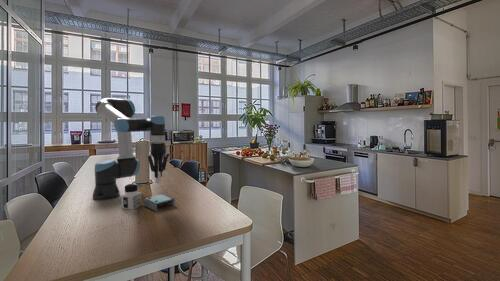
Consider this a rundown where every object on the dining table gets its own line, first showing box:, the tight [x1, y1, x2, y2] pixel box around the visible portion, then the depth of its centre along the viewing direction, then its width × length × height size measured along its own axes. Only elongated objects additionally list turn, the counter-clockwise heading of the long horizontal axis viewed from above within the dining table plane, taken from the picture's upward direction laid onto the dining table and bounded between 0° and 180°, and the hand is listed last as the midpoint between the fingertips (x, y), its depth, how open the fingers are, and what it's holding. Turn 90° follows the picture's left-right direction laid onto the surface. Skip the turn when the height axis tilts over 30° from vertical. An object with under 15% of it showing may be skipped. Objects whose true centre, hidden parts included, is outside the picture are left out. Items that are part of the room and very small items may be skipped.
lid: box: [145, 193, 174, 204], centre depth 141 cm, size 12×11×1 cm
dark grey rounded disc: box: [156, 202, 165, 208], centre depth 142 cm, size 7×7×3 cm
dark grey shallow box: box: [143, 193, 176, 212], centre depth 141 cm, size 14×12×5 cm
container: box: [120, 183, 143, 210], centre depth 139 cm, size 8×8×13 cm
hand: (158, 182), depth 141 cm, fingers closed
